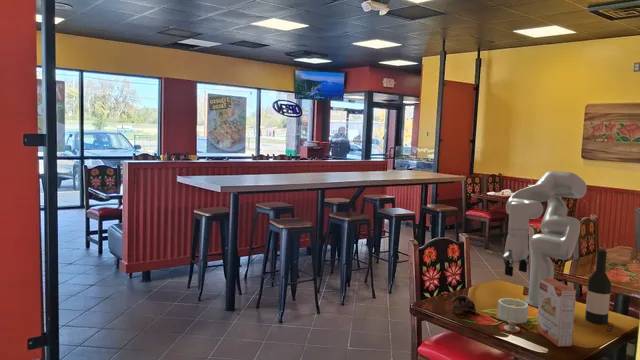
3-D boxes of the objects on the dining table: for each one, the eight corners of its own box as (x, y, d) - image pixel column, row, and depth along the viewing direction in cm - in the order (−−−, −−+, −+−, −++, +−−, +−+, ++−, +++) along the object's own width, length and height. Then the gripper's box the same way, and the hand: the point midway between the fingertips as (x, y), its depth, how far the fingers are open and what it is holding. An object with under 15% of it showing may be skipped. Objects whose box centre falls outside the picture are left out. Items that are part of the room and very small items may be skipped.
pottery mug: (480, 318, 198) (473, 302, 195) (458, 325, 200) (451, 310, 197) (473, 301, 209) (466, 286, 207) (452, 308, 211) (445, 294, 208)
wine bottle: (588, 315, 203) (594, 245, 200) (610, 321, 197) (616, 249, 194) (581, 320, 197) (587, 248, 195) (604, 326, 191) (610, 252, 189)
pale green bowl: (508, 311, 205) (509, 296, 205) (533, 319, 196) (534, 304, 195) (491, 316, 199) (492, 301, 198) (516, 325, 189) (517, 309, 189)
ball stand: (509, 325, 189) (510, 318, 189) (522, 330, 185) (523, 322, 184) (501, 328, 186) (501, 320, 186) (514, 333, 181) (514, 325, 181)
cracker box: (535, 331, 184) (539, 277, 182) (550, 331, 185) (554, 278, 183) (556, 347, 170) (560, 289, 168) (572, 347, 171) (577, 289, 169)
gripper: (521, 228, 202) (519, 267, 204) (497, 232, 192) (494, 274, 194) (538, 231, 196) (536, 272, 198) (513, 236, 186) (511, 279, 188)
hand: (515, 273), depth 196 cm, fingers open, 9 cm apart
